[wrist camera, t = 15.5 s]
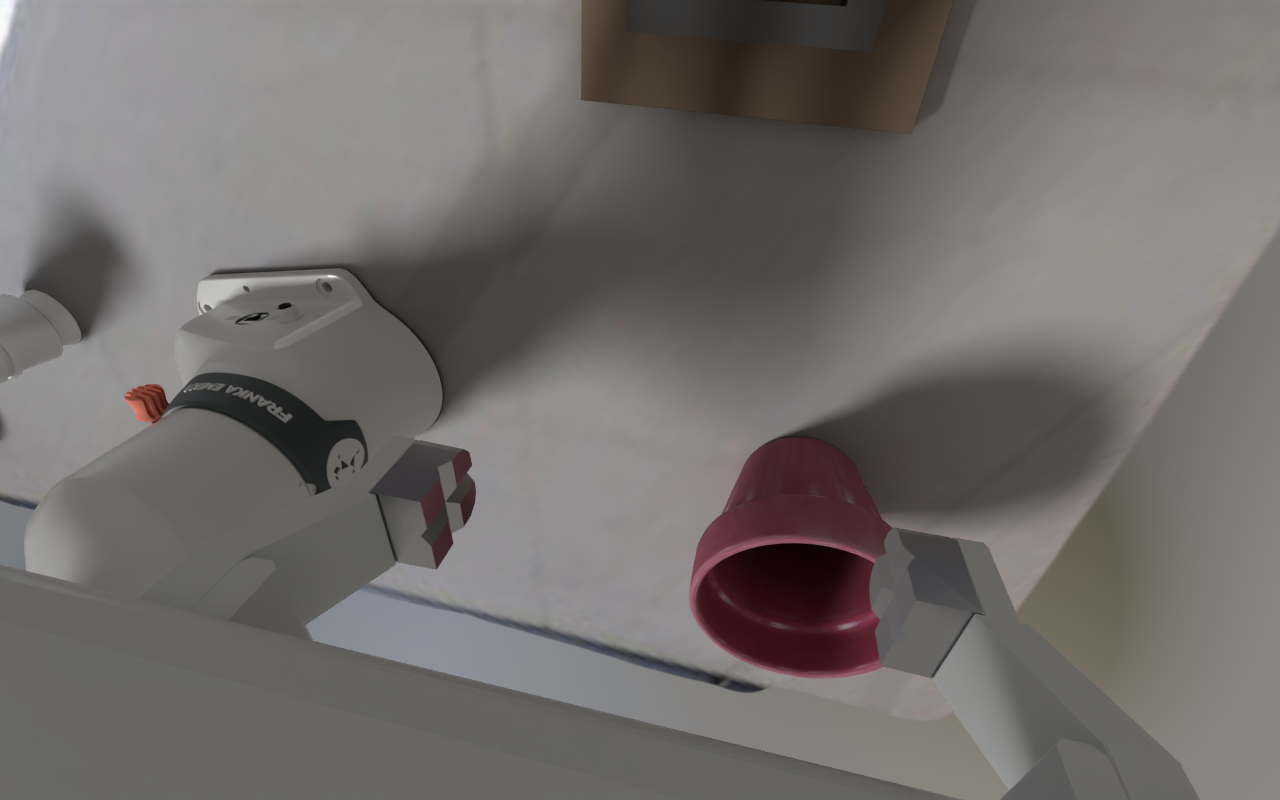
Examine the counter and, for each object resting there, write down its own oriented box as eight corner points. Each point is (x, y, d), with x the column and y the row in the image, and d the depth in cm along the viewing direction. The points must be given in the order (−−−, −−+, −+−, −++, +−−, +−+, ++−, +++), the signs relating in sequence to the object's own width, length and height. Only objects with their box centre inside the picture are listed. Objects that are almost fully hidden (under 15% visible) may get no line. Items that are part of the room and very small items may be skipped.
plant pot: (805, 565, 50) (809, 706, 40) (678, 484, 48) (647, 610, 38) (935, 477, 42) (983, 626, 31) (788, 375, 40) (787, 497, 29)
